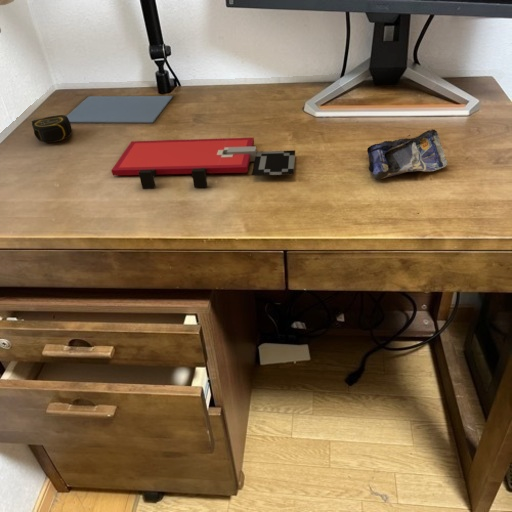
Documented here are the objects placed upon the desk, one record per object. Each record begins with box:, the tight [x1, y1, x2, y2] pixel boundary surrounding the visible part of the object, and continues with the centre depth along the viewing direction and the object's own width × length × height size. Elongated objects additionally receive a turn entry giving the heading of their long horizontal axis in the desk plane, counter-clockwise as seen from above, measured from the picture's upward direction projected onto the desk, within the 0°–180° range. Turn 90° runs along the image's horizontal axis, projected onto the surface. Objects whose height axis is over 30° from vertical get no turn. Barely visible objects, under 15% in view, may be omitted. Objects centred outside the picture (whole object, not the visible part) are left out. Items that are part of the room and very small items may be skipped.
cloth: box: [66, 95, 174, 124], centre depth 106 cm, size 20×14×1 cm
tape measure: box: [31, 114, 73, 143], centre depth 95 cm, size 7×7×4 cm
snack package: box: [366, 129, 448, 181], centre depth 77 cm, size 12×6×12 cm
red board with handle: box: [110, 137, 296, 190], centre depth 82 cm, size 30×3×15 cm
